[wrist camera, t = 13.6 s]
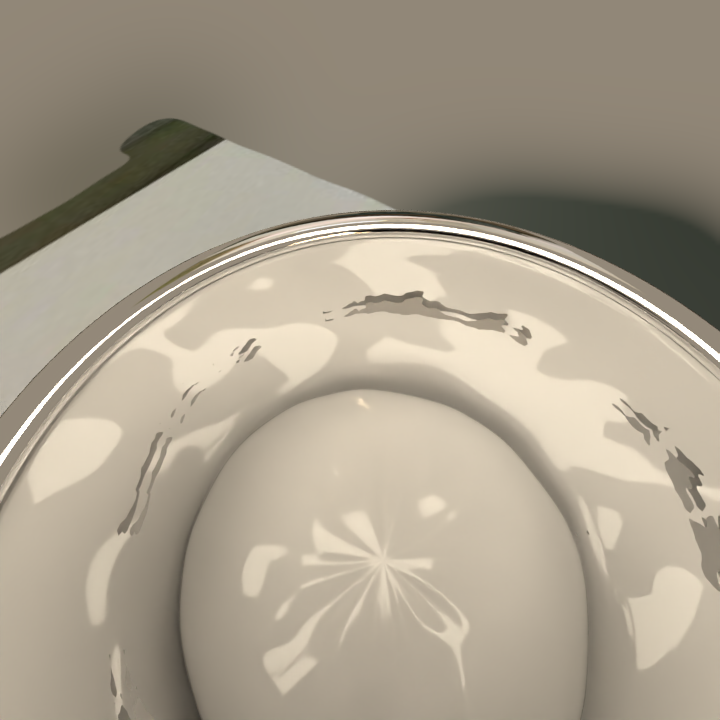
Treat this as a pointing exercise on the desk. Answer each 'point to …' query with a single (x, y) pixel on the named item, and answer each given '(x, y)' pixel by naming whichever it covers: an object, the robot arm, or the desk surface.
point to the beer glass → (369, 488)
